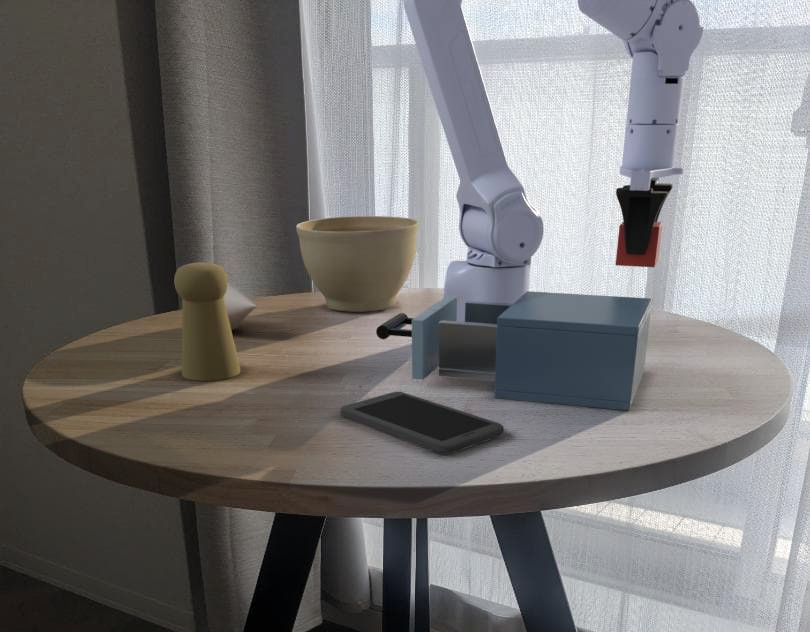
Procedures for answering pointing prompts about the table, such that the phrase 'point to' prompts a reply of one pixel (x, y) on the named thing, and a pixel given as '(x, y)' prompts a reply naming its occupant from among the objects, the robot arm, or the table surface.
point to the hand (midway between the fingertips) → (637, 251)
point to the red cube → (639, 260)
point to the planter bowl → (359, 259)
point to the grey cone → (237, 305)
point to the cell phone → (422, 422)
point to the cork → (205, 323)
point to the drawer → (451, 339)
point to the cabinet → (572, 349)
